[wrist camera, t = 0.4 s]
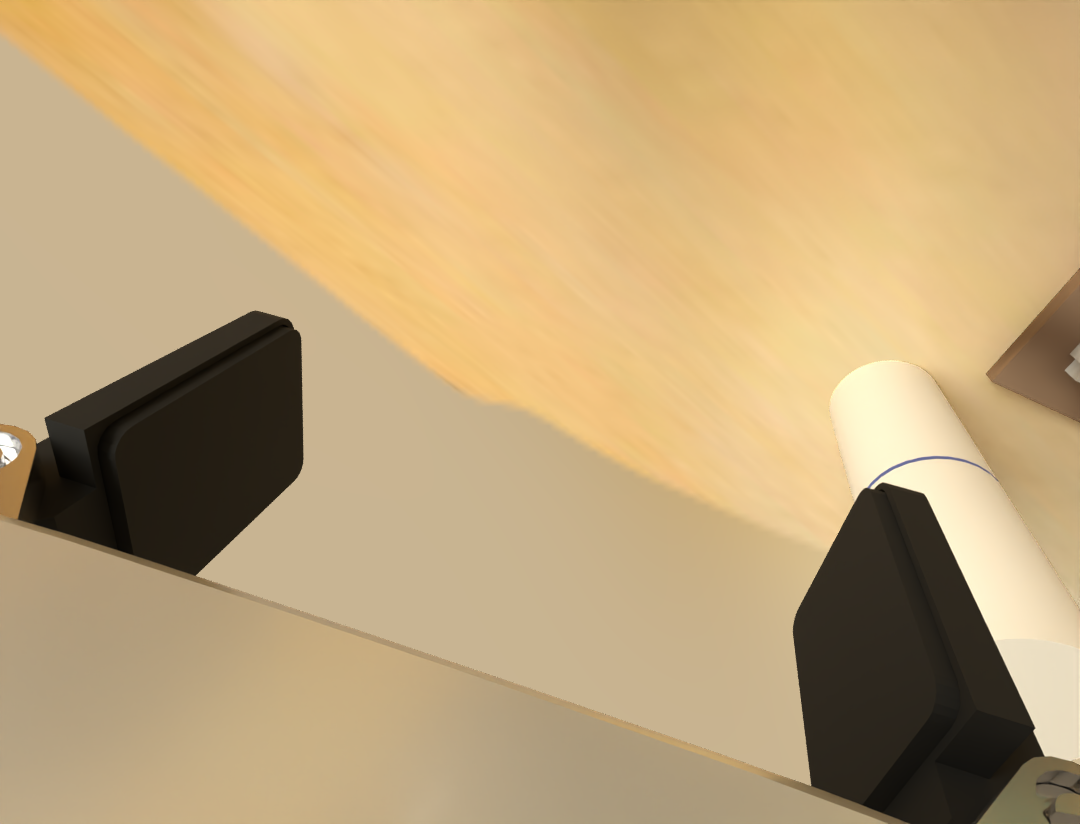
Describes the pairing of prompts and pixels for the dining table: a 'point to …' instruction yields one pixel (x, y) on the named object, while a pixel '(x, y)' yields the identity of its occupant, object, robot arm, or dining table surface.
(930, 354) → the dining table surface
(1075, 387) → the mount board
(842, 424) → the cylindrical container
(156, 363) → the robot arm
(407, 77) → the dining table surface
